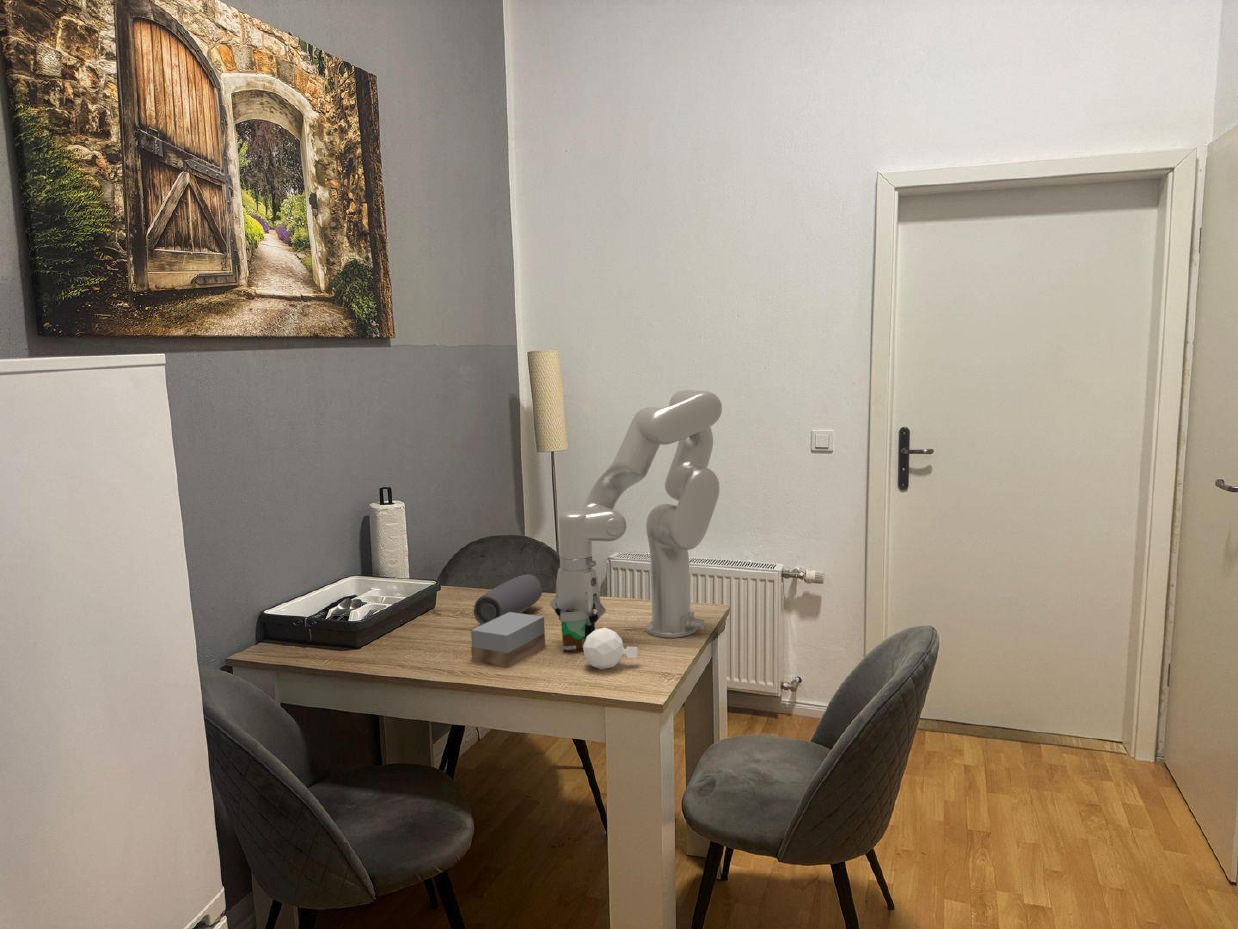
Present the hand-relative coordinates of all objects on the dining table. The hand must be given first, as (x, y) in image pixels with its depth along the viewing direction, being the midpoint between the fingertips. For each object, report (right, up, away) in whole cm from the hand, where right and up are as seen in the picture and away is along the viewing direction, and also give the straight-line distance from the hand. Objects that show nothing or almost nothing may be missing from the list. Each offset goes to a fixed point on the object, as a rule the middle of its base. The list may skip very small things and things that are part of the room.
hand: (578, 637), depth 203 cm
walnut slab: (-16, -4, -3) cm, 17 cm away
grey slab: (-16, 0, -4) cm, 16 cm away
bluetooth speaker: (-19, 0, +24) cm, 31 cm away
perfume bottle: (+8, -4, -14) cm, 17 cm away
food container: (+1, -2, 0) cm, 3 cm away
